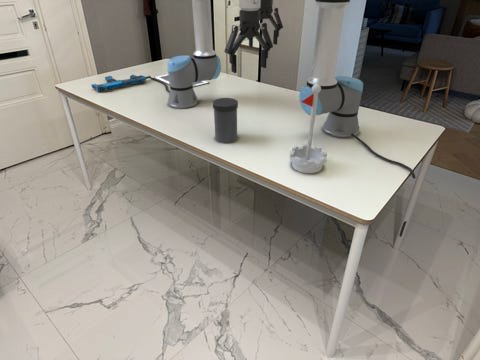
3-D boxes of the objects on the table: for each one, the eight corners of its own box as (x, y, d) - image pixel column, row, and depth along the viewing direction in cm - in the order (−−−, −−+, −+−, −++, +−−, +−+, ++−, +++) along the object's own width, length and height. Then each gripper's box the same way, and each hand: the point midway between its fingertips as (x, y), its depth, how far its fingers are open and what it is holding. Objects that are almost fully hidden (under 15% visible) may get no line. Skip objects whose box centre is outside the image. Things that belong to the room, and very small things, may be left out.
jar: (238, 133, 147) (238, 99, 139) (235, 143, 140) (235, 107, 131) (217, 132, 148) (215, 98, 140) (213, 142, 140) (211, 106, 132)
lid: (239, 103, 140) (239, 98, 139) (236, 112, 132) (236, 107, 130) (215, 102, 141) (214, 97, 140) (210, 111, 133) (210, 106, 131)
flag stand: (312, 154, 131) (323, 76, 115) (332, 170, 121) (346, 88, 105) (282, 160, 128) (289, 80, 111) (300, 177, 117) (309, 93, 101)
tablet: (154, 77, 217) (153, 77, 217) (181, 71, 228) (180, 71, 228) (181, 89, 196) (181, 89, 196) (209, 82, 208) (209, 82, 207)
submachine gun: (137, 69, 223) (155, 75, 206) (138, 75, 225) (156, 81, 208) (84, 79, 204) (99, 87, 188) (85, 85, 206) (101, 94, 190)
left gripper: (224, 12, 113) (225, 76, 124) (284, 8, 123) (280, 67, 135) (213, 10, 118) (216, 72, 130) (272, 6, 129) (269, 63, 140)
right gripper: (283, -6, 163) (280, 41, 174) (236, -3, 154) (237, 46, 166) (292, -4, 157) (288, 44, 169) (243, -2, 148) (243, 49, 160)
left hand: (249, 69), depth 132 cm, fingers open, 13 cm apart
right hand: (263, 45), depth 167 cm, fingers open, 13 cm apart
